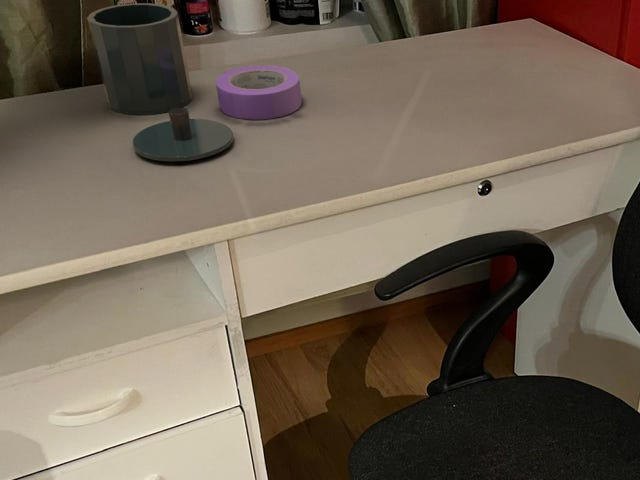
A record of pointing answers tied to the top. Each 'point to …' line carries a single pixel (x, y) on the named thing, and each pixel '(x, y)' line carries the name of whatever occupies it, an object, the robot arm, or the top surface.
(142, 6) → the canister
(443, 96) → the top surface
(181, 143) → the canister lid
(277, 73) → the tape roll
